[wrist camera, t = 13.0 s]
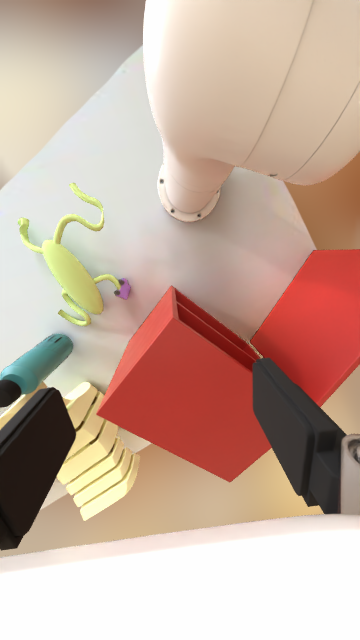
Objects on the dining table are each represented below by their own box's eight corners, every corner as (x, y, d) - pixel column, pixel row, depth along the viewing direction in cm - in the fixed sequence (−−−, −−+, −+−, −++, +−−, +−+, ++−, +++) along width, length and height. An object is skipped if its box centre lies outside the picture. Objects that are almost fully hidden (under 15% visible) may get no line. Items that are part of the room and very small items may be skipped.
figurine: (100, 184, 39) (90, 173, 33) (142, 309, 47) (138, 316, 42) (13, 209, 39) (-11, 202, 34) (70, 328, 48) (57, 337, 43)
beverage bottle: (72, 328, 48) (9, 377, 29) (80, 352, 50) (26, 412, 31) (46, 332, 48) (-34, 383, 29) (55, 355, 50) (-14, 417, 31)
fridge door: (335, 264, 46) (492, 275, 24) (270, 352, 53) (343, 425, 30) (313, 250, 45) (457, 247, 22) (249, 341, 52) (310, 410, 29)
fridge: (171, 285, 46) (172, 317, 23) (248, 344, 52) (310, 415, 29) (129, 341, 50) (95, 414, 27) (205, 389, 56) (230, 482, 33)
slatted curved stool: (145, 421, 59) (135, 489, 42) (107, 447, 61) (84, 521, 45) (66, 355, 50) (14, 406, 33) (26, 388, 53) (-40, 452, 36)
